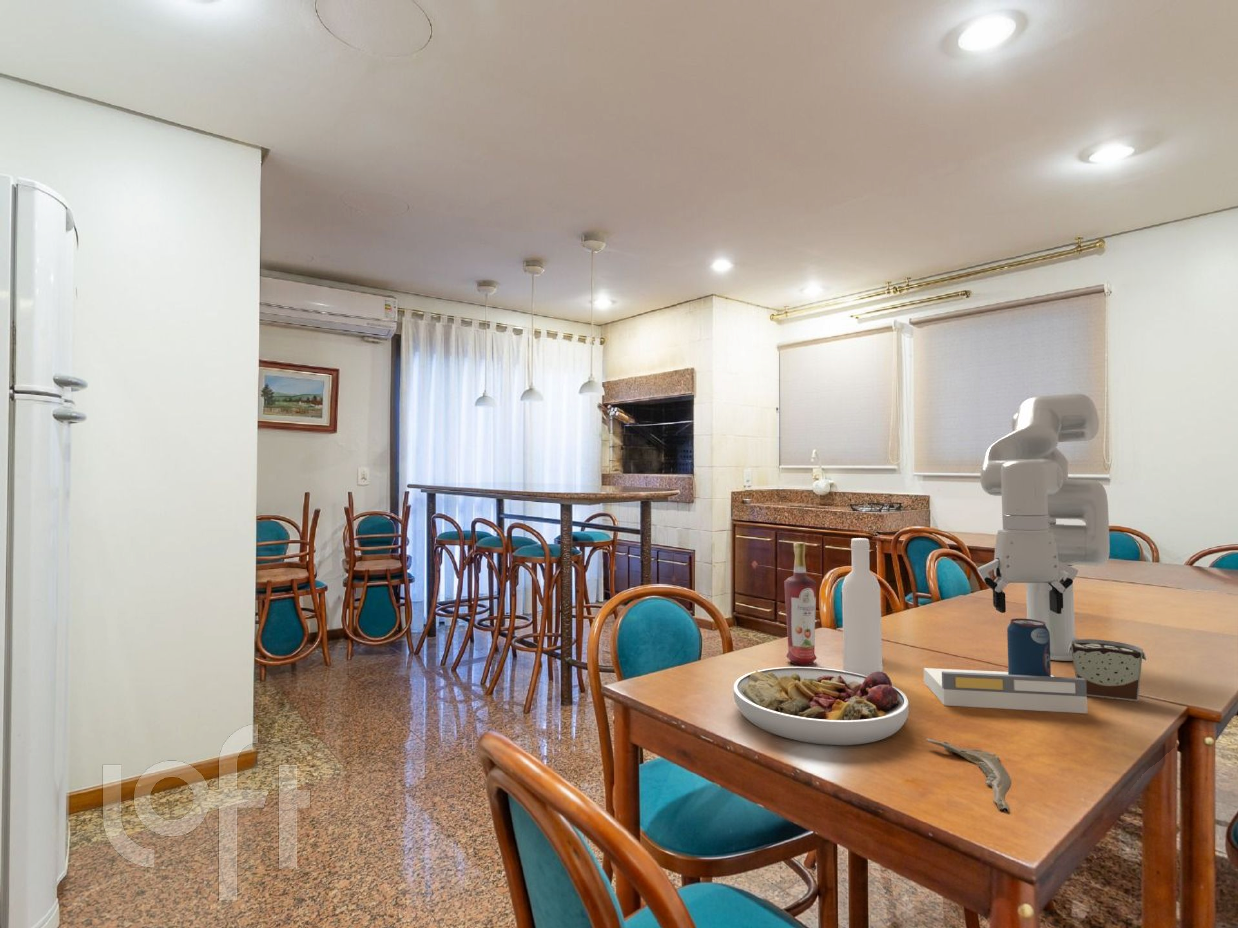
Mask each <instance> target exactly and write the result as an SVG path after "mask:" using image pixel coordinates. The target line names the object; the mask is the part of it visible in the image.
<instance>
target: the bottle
mask: <svg viewBox="0 0 1238 928" xmlns="http://www.w3.org/2000/svg"><path fill="white" fill-rule="evenodd" d="M850 543H851V544H850V548H851V551H850V552H851V571H850V572H849V573H847V574H846V575H845V576H844V579H843V582H842V584H841V585H842V586H841V591H842V605H841V607H842V606H843V617H842V638H843V639H842V641H843V643H842V644H843V649H842V650H843V651H842V655H843V661H842V662H843V663H842V668H843V669H842V671H847V672H852V673H857V674H861V675H865V676H869V675H870V674H871V673H873V672H877V671H879V672H884V670H883V667H884V666H883V651H882V650H883V649H882V647H883V646H882V608H881V605H882V603H881V598H882V597H881V585H880V583H879V581H878V578H877V576H875V575H874V574H873V573H872V572H871V571H870V548H871V546H870V540H869V539H868V538H866V537H864V538H863V537H862V538H861V537H858V538H857V537H856V538H853V537H852V538H851V542H850Z"/></svg>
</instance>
